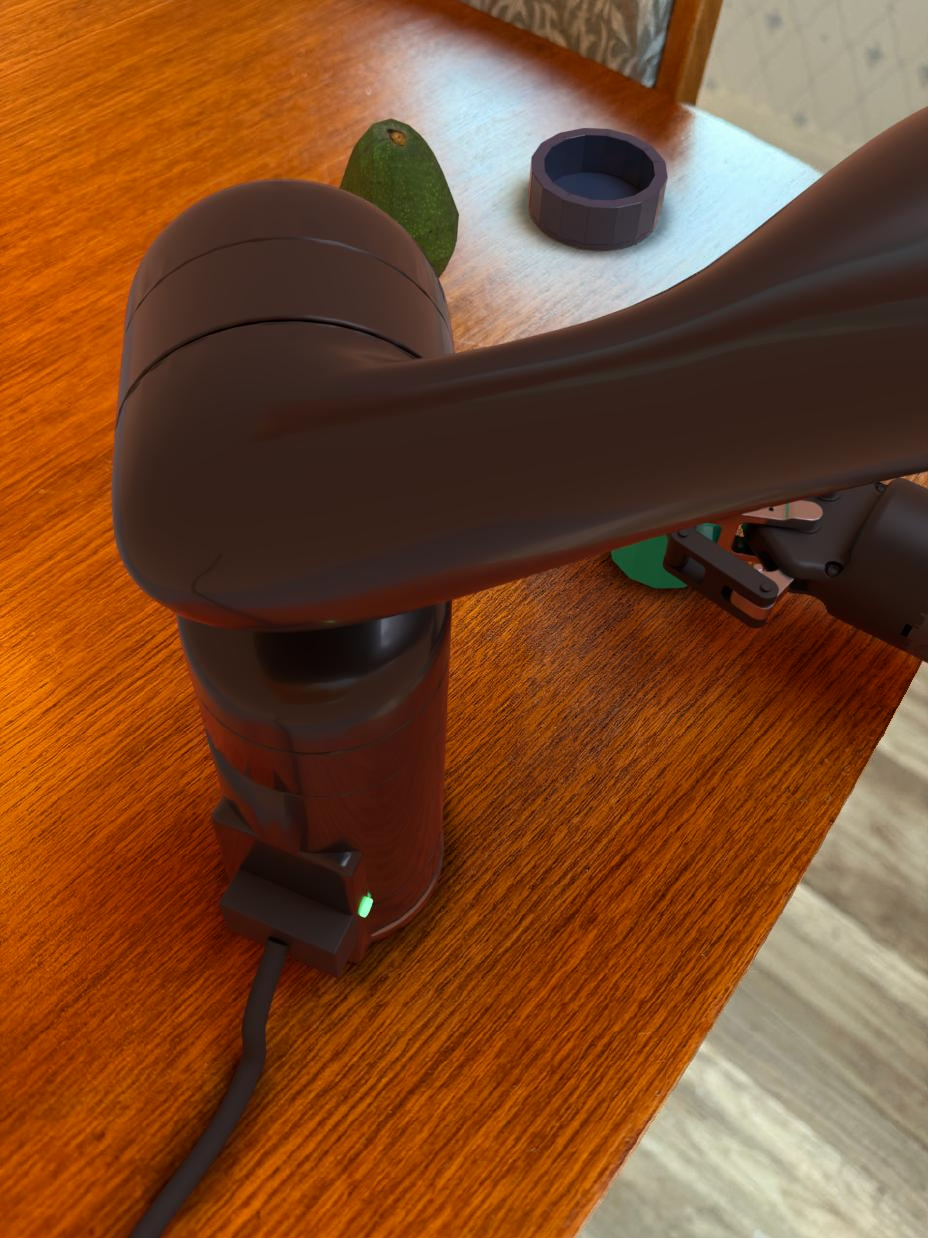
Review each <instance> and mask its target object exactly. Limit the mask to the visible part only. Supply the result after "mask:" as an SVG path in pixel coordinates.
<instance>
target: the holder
mask: <svg viewBox="0 0 928 1238" xmlns="http://www.w3.org/2000/svg"><path fill="white" fill-rule="evenodd" d="M668 178H669V175H668V169H667V163H666V160H665V159H664V158H663V156H662V155H661V154H660V153H659V151H657V150H656V148H655V147H654V146H652V145H651V144H649V143H648V142H645V141H644V140H642V139H640V138H639V137H637V136H636V135H633V134H631V133H630V134H629V133H625V132H622V131H618V130H615V129H612V128H611V129H610V128H599V127H581V128H575V129H570V130H567V131H561V132H558V133H556V134H554V135H552V136H551V137H549V138H547V139H545V140H544V141H542V142H541V143H539V145H538V147H537V148H536V150H535V151H534V152H533V154H532V155H531V158H530V169H529V181H528V193H527V196H528V197H527V198H528V199H527V200H528V201H527V210H528V214H529V217H530V219H531V221H532V223H533V224H534V225H535V227H536V228H537V229H538V231H540V232H541V233H543V234H544V235H545V236H547V237H549V238H550V239H552V240H553V241H555V242H557V243H560V244H563V245H566V246H568V247H571V248H575V249H579V250H584V251H585V250H586V251H595V252H597V251H598V252H605V251H616V250H621V249H625V248H628V247H631V246H634V245H636V244H639V243H640V242H642V241H644V240H645V239H647V238H648V237H649V236H650V235H651V234H652V233H653V232H654V230H655V229H656V227H657V225H658V223H659V219H660V216H661V214H662V209H663V203H664V198H665V194H666V189H667V183H668Z"/></svg>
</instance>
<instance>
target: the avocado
mask: <svg viewBox="0 0 928 1238" xmlns="http://www.w3.org/2000/svg"><path fill="white" fill-rule="evenodd" d="M339 188H340V189H343V190H346V191H348V192H350V193H352V194H354V195H357V196H359V197H361V198H363V199H365V200H366V201H368V202H370V203H372V204H373V205H375V206H377V207H378V208H379V209H381V210H382V211H384V212H385V213H387V214H388V215H389V216H390V217H392V218H393V219H394V220H395V221H396V222H397V223H399V224H400V225H401V226H402V227H403V228H404V229H405V230H406V231H407V232H408V233H409V234H410V235H411V236H412V237H413V239H414V240H415V241H416V243H417V244H418V245H419V246H420V248H421V249H422V250H423V252H424V253H425V255H426V256H427V258H428V259H429V261H430V263H431V264H432V266H433V268H434V270H435V272H436V274H437V276H438V278H439V279H440V277H441V276H442V275H443V274H444V272H445V271H446V269H447V267H448V265H449V263H450V261H451V259H452V257H453V255H454V252H455V249H456V245H457V241H458V234H459V222H460V221H459V220H460V212H459V210H458V208H457V205H456V202H455V200H454V197H453V194H452V192H451V189H450V187H449V183H448V181H447V178H446V176H445V174H444V170H443V169H442V167H441V164H440V163H439V160H438V159H437V157H436V155H435V153H434V151H433V150H432V148H431V146H430V145H429V143H428V142H427V140H426V139H425V138H424V136H422V135H421V134H420V133H419V132H418V131H417V130H415V128H413V127H412V126H411V125H410V124H408V123H405V122H402V121H400V120H397V119H395V118H392V117H390V118H387V119H384V120H381V121H377V122H373V123H372V124H371V125H370V127H368V129H367V130H366V131H365V132H364V133H363V134H362V135H361V137H359V139H358V140H357V142H356V143H355V145H354V146H353V148H352V151H351V153H350V155H349V158H348V161H347V164H346V167H345V170H344V173H343V176H342V178H341V182H340V185H339Z"/></svg>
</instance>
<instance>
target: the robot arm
mask: <svg viewBox="0 0 928 1238" xmlns="http://www.w3.org/2000/svg"><path fill="white" fill-rule="evenodd" d="M124 312H125V314H124V323H123V324H124V325H123V337H122V338H123V339H122V349H121V357H120V368H119V378H118V389H117V400H116V411H115V422H114V434H113V435H114V436H113V449H112V450H113V452H112V470H111V471H112V472H111V474H112V475H111V486H110V487H111V489H110V490H111V491H110V495H111V496H110V497H111V498H110V499H111V517H112V527H113V535H114V541H115V544H116V545H115V546H116V548H117V551H118V553H119V556H120V559H121V561H122V564H123V567H124V568H125V570H126V571H127V573H128V575H129V577H130V579H132V581H133V582H134V583H135V584H136V585H137V586H138V587H139V589H141V591H142V592H143V593H144V594H145V595H146V596H148V597H149V598H150V599H151V600H152V601H154V602H156V603H157V604H159V605H160V606H162V607H164V608H165V609H167V610H169V611H170V612H173V613H174V614H175V617H176V618H175V619H176V625H177V631H178V637H179V641H180V645H181V648H182V649H181V650H182V652H183V656H184V660H185V662H186V667H187V671H188V675H189V677H190V680H191V683H192V688H193V691H194V694H195V698H196V701H197V705H198V709H199V712H200V713H199V714H200V716H201V721H202V724H203V728H204V732H205V736H206V740H207V742H208V746H209V747H208V748H209V750H210V753H211V754H210V755H211V757H212V761H213V764H214V768H215V773H216V775H217V780H218V783H219V786H220V790H221V794H222V795H221V797H220V799H219V800H218V802H217V803H216V805H215V807H214V808H213V810H212V812H211V814H210V817H209V818H210V821H211V825H212V829H213V831H214V835H215V838H216V841H217V842H216V843H217V845H218V848H219V852H220V855H221V857H222V862H223V865H224V868H225V871H226V875H227V878H228V881H229V884H228V886H227V888H226V889H225V892H224V893H223V894H222V896H221V898H220V900H219V902H218V906H219V909H220V913H221V914H222V918H223V921H224V924H225V927H226V929H227V931H229V932H232V933H234V934H237V935H238V936H241V937H243V938H245V939H247V940H250V941H252V942H254V943H256V944H259V945H261V946H264V948H263V951H262V953H261V957H260V958H259V959H260V960H259V963H258V965H257V969H256V971H255V974H254V977H253V980H252V983H251V986H250V989H249V993H248V996H247V998H246V999H247V1000H246V1002H245V1006H244V1011H243V1015H242V1020H241V1027H240V1029H241V1030H240V1031H241V1033H240V1034H241V1044H242V1052H241V1057H240V1060H239V1062H238V1066H237V1068H236V1071H235V1073H234V1075H233V1078H232V1081H231V1083H230V1084H229V1087H228V1089H227V1091H226V1093H225V1095H224V1097H223V1099H222V1100H221V1103H220V1105H219V1106H218V1108H217V1110H216V1112H215V1113H214V1115H213V1117H212V1119H211V1120H210V1122H209V1123H208V1125H207V1126H206V1128H205V1129H204V1131H203V1132H202V1135H201V1136H200V1137H199V1139H198V1140H197V1141H196V1143H195V1145H194V1146H193V1147H192V1149H191V1150H190V1152H188V1155H187V1156H186V1157H185V1158H184V1160H183V1161H182V1163H181V1164H180V1165H179V1167H178V1168H177V1170H176V1171H175V1172H174V1173H173V1175H172V1176H171V1178H170V1179H169V1180H168V1182H167V1183H166V1184H165V1186H164V1187H163V1188H162V1190H161V1191H160V1192H159V1194H157V1196H156V1198H155V1199H154V1200H153V1202H151V1204H150V1205H149V1207H148V1208H147V1210H146V1211H145V1212H144V1214H143V1215H142V1217H140V1219H139V1220H138V1222H137V1223H136V1225H135V1226H134V1228H133V1229H132V1230H131V1232H130V1233H129V1235H128V1236H127V1238H161V1236H162V1234H163V1233H164V1231H165V1230H166V1229H167V1228H168V1226H169V1225H170V1223H171V1222H172V1221H173V1219H174V1218H175V1216H176V1215H177V1213H178V1212H179V1211H180V1209H181V1208H182V1207H183V1205H184V1204H185V1202H186V1201H187V1200H188V1198H189V1197H190V1195H192V1193H193V1192H194V1190H195V1189H196V1187H197V1186H198V1185H199V1183H200V1182H201V1181H202V1180H203V1178H204V1176H205V1175H206V1174H207V1172H208V1170H209V1169H210V1168H211V1166H212V1165H213V1163H214V1162H215V1161H216V1159H217V1158H218V1156H219V1154H220V1153H221V1152H222V1150H223V1149H224V1147H225V1145H226V1144H227V1142H228V1140H230V1137H231V1135H233V1132H234V1131H235V1129H236V1127H237V1125H238V1123H239V1122H240V1120H241V1118H242V1116H243V1114H244V1112H245V1110H246V1108H247V1106H248V1105H249V1102H250V1100H251V1098H252V1095H253V1093H254V1092H255V1089H256V1087H257V1085H258V1081H259V1079H260V1077H261V1074H262V1072H263V1069H264V1067H265V1063H266V1059H267V1043H266V1029H267V1022H268V1018H269V1015H270V1014H269V1013H270V1010H271V1006H272V1002H273V999H274V995H275V993H276V989H277V987H278V984H279V981H280V978H281V975H282V972H283V969H284V967H285V963H286V960H287V958H288V957H289V958H290V959H293V960H295V961H297V962H299V963H302V964H304V965H306V966H309V967H310V968H313V969H315V970H318V971H320V972H322V973H324V974H326V975H328V976H331V977H333V978H336V979H339V978H340V977H341V975H342V974H343V971H344V969H345V967H346V966H347V965H346V964H347V963H348V962H350V963H352V964H358V963H361V962H362V960H363V959H364V957H365V955H366V952H367V951H368V949H369V948H370V946H371V945H372V944H373V943H376V942H379V941H380V940H384V939H385V938H388V937H389V936H391V935H393V934H395V933H397V932H398V931H399V930H401V929H402V928H404V927H405V926H406V925H408V924H409V923H410V922H411V921H413V920H414V918H415V917H416V916H417V915H418V914H420V912H421V911H422V910H423V909H424V907H425V906H426V904H427V903H428V902H429V900H430V899H431V897H432V896H433V894H434V891H435V890H436V887H437V885H438V883H439V881H440V877H441V873H442V870H443V864H444V852H445V837H444V836H445V835H444V827H443V825H444V824H443V823H444V797H445V772H446V771H445V769H446V750H447V749H446V747H447V728H448V727H447V725H448V724H447V723H448V702H449V701H448V700H449V688H450V687H449V686H450V665H451V664H450V663H451V644H452V642H451V641H452V621H453V620H452V619H453V601H454V600H457V599H460V598H463V597H468V596H470V595H474V594H477V593H480V592H484V591H487V590H490V589H493V588H497V587H499V586H503V585H506V584H509V583H510V584H511V583H513V582H516V581H520V580H523V579H526V578H529V577H532V576H535V575H539V574H541V573H545V572H548V571H552V570H554V569H558V568H561V567H564V566H568V565H571V564H574V563H577V562H580V561H584V560H588V559H590V558H593V557H596V556H600V555H604V554H607V553H609V552H610V553H611V551H613V550H616V549H620V548H623V547H626V546H629V545H633V544H636V543H639V542H642V541H646V540H649V539H652V538H656V537H659V536H662V535H666V536H667V547H666V552H665V556H664V559H663V568H664V569H665V570H666V571H667V572H668V573H670V574H671V575H673V576H674V577H676V578H677V579H679V580H680V581H682V582H683V583H685V584H686V585H688V586H687V587H689V588H690V589H692V590H693V591H695V592H697V593H698V594H699V595H701V596H702V597H704V598H705V599H707V600H708V601H710V602H711V603H713V604H714V605H715V606H717V607H718V608H720V609H721V610H723V611H725V612H726V613H727V614H729V615H730V616H732V617H734V618H735V619H736V620H738V621H739V622H740V623H742V624H744V625H745V626H746V627H749V628H751V629H753V630H754V629H755V630H756V629H762V628H764V627H765V626H766V624H767V622H768V620H769V617H770V616H771V614H772V611H773V610H774V607H775V606H777V605H778V604H779V602H780V601H781V600H783V598H784V597H785V596H786V595H787V594H793V595H803V596H808V597H813V598H814V599H817V600H818V601H819V602H821V604H822V605H823V606H824V607H825V610H826V612H827V614H829V616H831V617H833V618H835V619H836V620H839V621H841V622H843V623H845V624H847V625H848V626H851V627H853V628H855V629H857V630H859V631H860V632H864V633H865V634H867V635H869V636H871V637H873V638H875V639H877V640H879V641H881V642H883V643H886V644H887V645H889V646H891V647H894V648H896V649H898V650H900V651H902V652H903V653H905V654H908V655H909V656H912V657H914V658H916V659H918V660H920V661H922V662H924V663H926V664H928V488H927V487H925V486H923V485H920V484H919V483H916V482H914V481H912V480H910V479H908V478H904V477H909V476H913V475H920V474H923V473H928V105H927V106H925V107H923V108H921V109H919V110H917V111H915V112H913V113H911V114H909V115H908V116H906V117H904V118H903V119H901V120H898V122H896V123H894V124H893V125H891V126H890V127H887V128H886V129H885V130H883V131H882V132H880V133H879V134H878V135H876V136H873V138H871V139H870V140H868V141H866V143H864V144H863V145H861V146H860V147H859V148H857V149H856V150H855V151H853V152H852V153H851V154H849V155H848V156H846V157H845V158H844V159H843V160H841V161H840V162H839V163H837V164H836V165H834V166H833V167H832V168H830V169H829V170H828V171H827V172H826V173H824V174H823V175H822V176H821V177H819V178H817V180H815V181H814V182H813V183H812V184H810V185H809V186H808V187H807V188H806V189H804V190H803V191H802V192H800V193H799V194H798V195H797V196H796V197H794V198H793V199H792V200H790V201H789V202H788V203H786V205H784V206H783V207H781V208H780V209H779V210H778V211H777V212H775V213H774V214H773V215H772V216H771V217H769V218H768V219H767V220H765V221H764V222H763V223H762V224H760V225H758V227H757V228H756V229H754V230H753V231H752V232H750V233H748V235H747V236H745V237H744V238H743V239H742V240H740V241H739V242H737V243H736V244H735V245H734V246H732V247H730V248H729V249H728V250H727V251H725V252H724V253H723V254H721V255H719V257H717V258H716V259H715V260H713V261H712V262H710V263H709V264H707V266H706V265H705V267H703V268H702V269H700V270H698V271H697V272H695V273H693V274H691V275H689V276H687V277H685V278H684V279H682V280H681V281H679V282H677V283H675V284H674V285H672V286H670V287H668V288H667V289H665V290H662V291H660V292H658V293H655V294H653V295H652V296H650V297H647V298H645V299H643V300H641V301H639V302H637V303H635V304H632V305H630V306H627V307H624V308H622V309H618V310H616V311H613V312H611V313H607V314H605V315H602V316H600V317H597V318H593V319H591V320H587V321H584V322H580V323H577V324H573V325H570V326H566V327H563V328H559V329H554V330H549V331H546V332H543V333H539V334H535V335H532V336H527V337H523V338H520V339H516V340H511V341H507V342H503V343H498V344H493V345H488V346H483V347H479V348H474V349H469V350H463V351H459V352H456V351H455V343H454V342H455V341H454V334H453V328H452V321H451V315H450V310H449V304H448V301H447V297H446V294H445V290H444V288H443V285H442V282H441V281H440V277H439V278H438V276H437V274H436V272H435V270H434V268H433V266H432V264H431V263H430V261H429V259H428V258H427V256H426V255H425V253H424V252H423V250H422V249H421V248H420V246H419V245H418V244H417V243H416V241H415V240H414V239H413V237H412V236H411V235H410V234H409V233H408V232H407V231H406V230H405V229H404V228H403V227H402V226H401V225H400V224H399V223H397V222H396V221H395V220H394V219H393V218H392V217H390V216H389V215H388V214H387V213H385V212H384V211H382V210H381V209H379V208H378V207H377V206H375V205H373V204H372V203H370V202H368V201H366V200H365V199H363V198H361V197H359V196H357V195H354V194H352V193H350V192H348V191H346V190H343V189H340V187H337V186H333V185H331V184H326V183H323V182H318V181H313V180H308V179H307V180H306V179H300V178H299V179H298V178H268V179H267V178H265V179H256V180H252V181H247V182H242V183H238V184H235V185H232V186H228V187H224V188H222V189H219V190H218V191H215V192H213V193H211V194H208V195H207V196H205V197H204V198H201V199H199V200H197V201H196V202H194V203H193V204H192V205H190V206H189V207H188V208H186V209H184V210H183V211H181V212H180V213H179V214H178V215H177V216H175V218H173V220H171V221H170V222H169V223H168V224H167V225H166V226H165V228H163V230H162V231H161V232H160V233H159V234H158V235H157V237H156V238H155V239H154V240H153V242H152V243H151V245H149V247H148V248H147V250H146V252H145V254H144V256H143V257H142V259H141V260H140V262H139V265H138V267H137V268H136V271H135V272H134V276H133V279H132V282H131V285H130V287H129V291H128V297H127V302H126V307H125V311H124ZM887 481H889V482H888V483H883V482H887ZM705 523H710V524H717V525H716V526H708V525H701V524H705ZM739 527H740V529H741V530H742V535H738V534H737V532H738V529H739ZM748 563H753V565H750V564H748Z"/></svg>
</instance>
